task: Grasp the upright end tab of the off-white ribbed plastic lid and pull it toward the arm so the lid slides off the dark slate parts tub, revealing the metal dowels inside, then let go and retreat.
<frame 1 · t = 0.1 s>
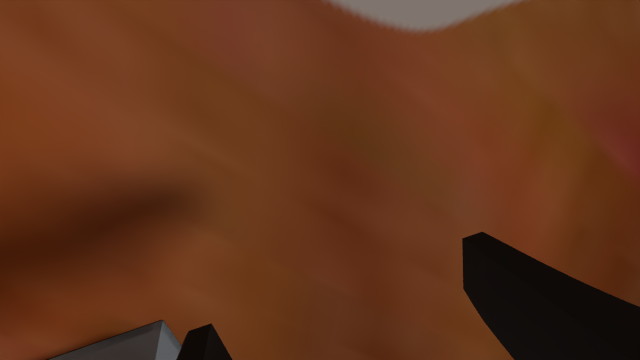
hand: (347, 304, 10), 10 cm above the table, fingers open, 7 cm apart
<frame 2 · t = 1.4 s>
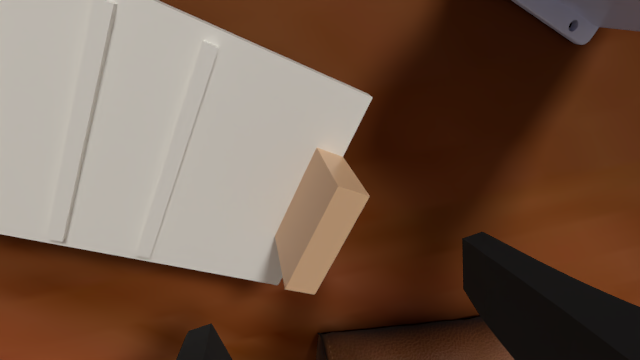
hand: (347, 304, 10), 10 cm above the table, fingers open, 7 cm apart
sunglasses case: (418, 343, 29), on the table
lid: (128, 153, 12), point 4 cm above the table, slide at 0.0 cm
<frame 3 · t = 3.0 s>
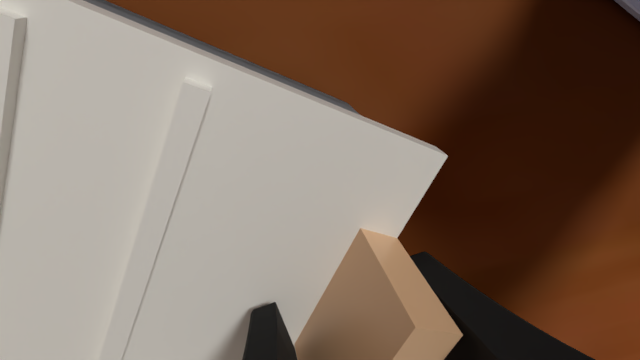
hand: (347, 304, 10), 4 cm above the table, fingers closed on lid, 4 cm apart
lid: (63, 261, 7), point 4 cm above the table, slide at 0.0 cm, touching gripper
tub: (97, 162, 11), on the table
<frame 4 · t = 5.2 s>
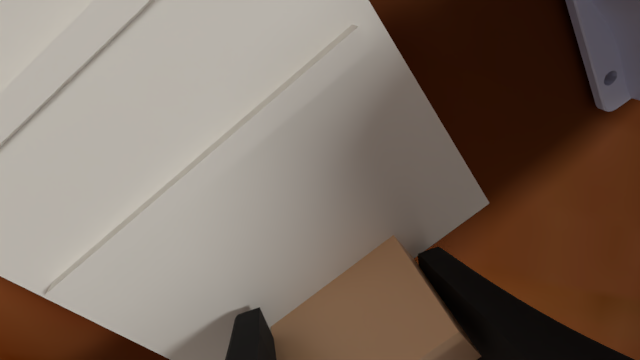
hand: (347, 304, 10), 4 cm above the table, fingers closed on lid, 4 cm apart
lid: (139, 134, 6), point 4 cm above the table, slide at 7.4 cm, touching gripper
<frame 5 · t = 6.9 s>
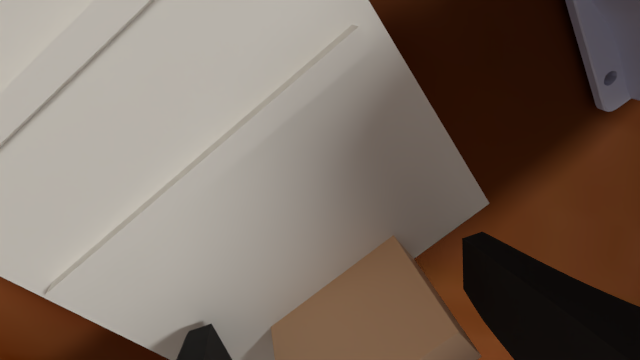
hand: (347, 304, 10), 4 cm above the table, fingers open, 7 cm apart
lid: (139, 134, 6), point 4 cm above the table, slide at 7.4 cm
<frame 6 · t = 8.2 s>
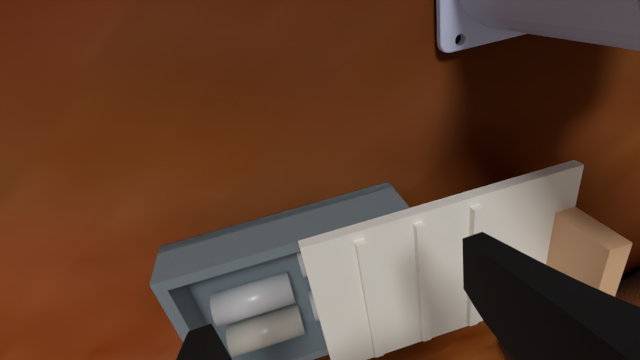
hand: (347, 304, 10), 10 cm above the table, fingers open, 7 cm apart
sunglasses case: (586, 306, 33), on the table
lid: (454, 283, 19), point 4 cm above the table, slide at 7.4 cm
tub: (295, 271, 22), on the table
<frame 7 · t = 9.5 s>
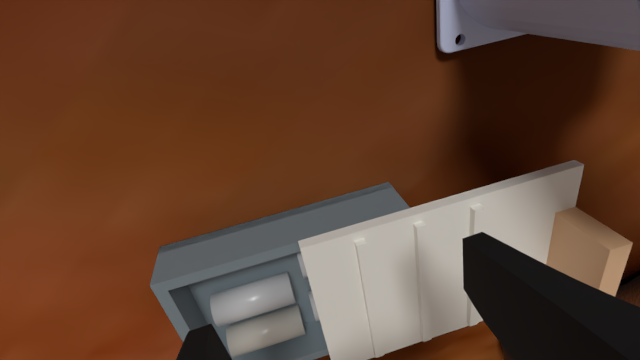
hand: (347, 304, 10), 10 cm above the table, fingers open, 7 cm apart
sunglasses case: (585, 310, 33), on the table
lid: (454, 284, 19), point 4 cm above the table, slide at 7.4 cm
tub: (295, 272, 22), on the table
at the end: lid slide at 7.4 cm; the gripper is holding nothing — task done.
